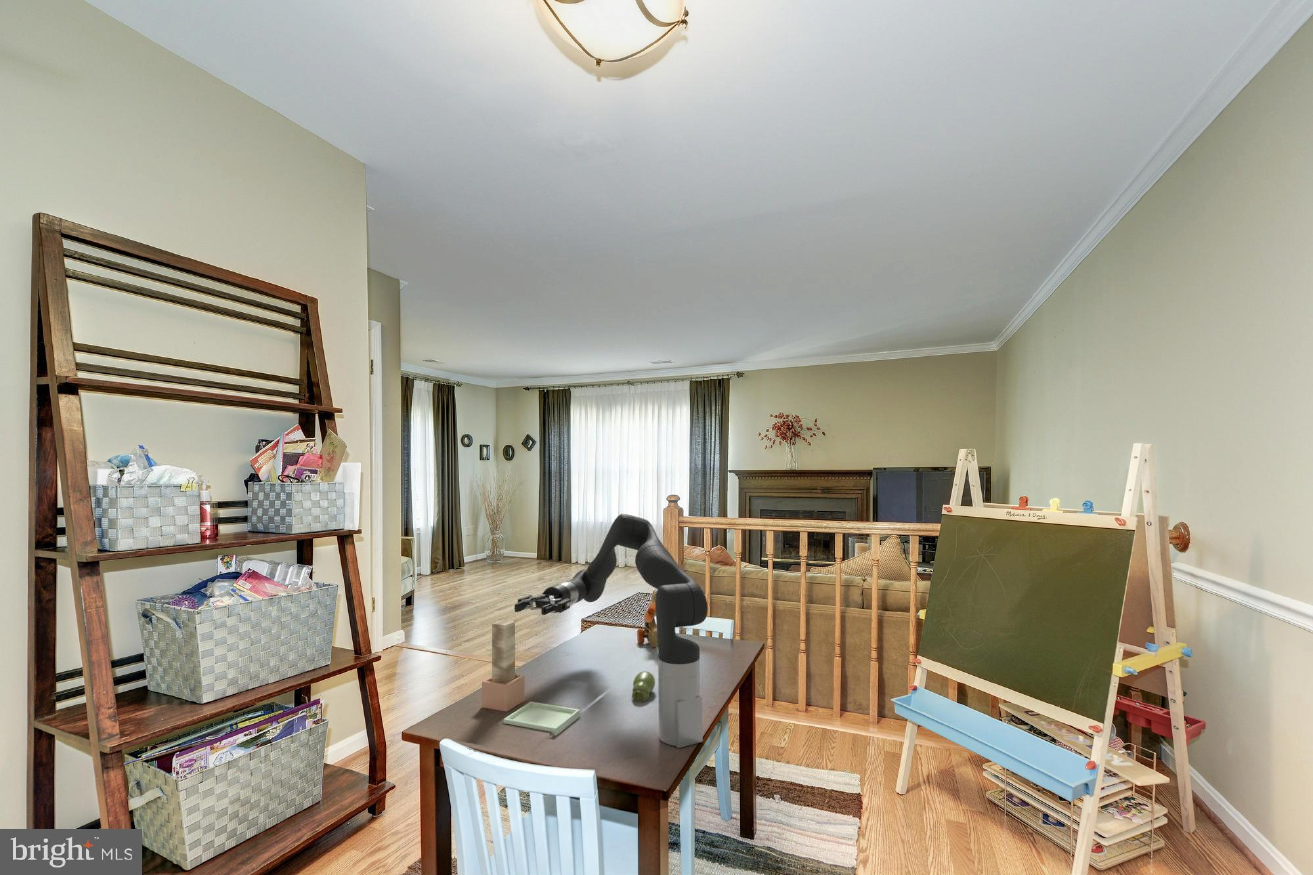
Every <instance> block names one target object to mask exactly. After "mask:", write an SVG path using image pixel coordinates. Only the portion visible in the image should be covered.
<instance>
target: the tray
mask: <svg viewBox="0 0 1313 875" xmlns="http://www.w3.org/2000/svg"><path fill="white" fill-rule="evenodd" d="M580 717H581V709H579V708H574V707H573V708H572V707H566V706H561V705H560V706H559V705H555V704H549V703H548V704H547V703H541V702H535V701H529V702H527V703H526V704H525V705H523V706H522V707H520V708H518V709H517V710H516V711H514V712H511V714H510V715H507V716H506V717H504V718H503V724H507V725H508V724H509V725H513V726H518V727H519V726H520V727H524V728H530V729H535V730H540V731H546V732H550V733H549V735H550V736H555V737H556V736H558V735H559V734H560V733H562V732H563V731H564V730H565V729H567V728H568V727H569V726H570V725H571V724H573V723H574V722H575V721H576V720H578V719H579V718H580Z"/></svg>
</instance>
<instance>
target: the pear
mask: <svg viewBox="0 0 1313 875" xmlns="http://www.w3.org/2000/svg"><path fill="white" fill-rule="evenodd" d="M632 686H633V687H632V694H631V699H632V701H635V702H641V703H642V702H643V703H644V702H645V703H646V702H647V701H648V700H649V699H650V693H651V692H652V691H653V690H654V688H655V686H656V679H655V677H654V675H653V674H652V673H651V672H650V671H645V670H644V671H641V672H638V674H637V675H636V676H635V677H634V679H633V682H632Z"/></svg>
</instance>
